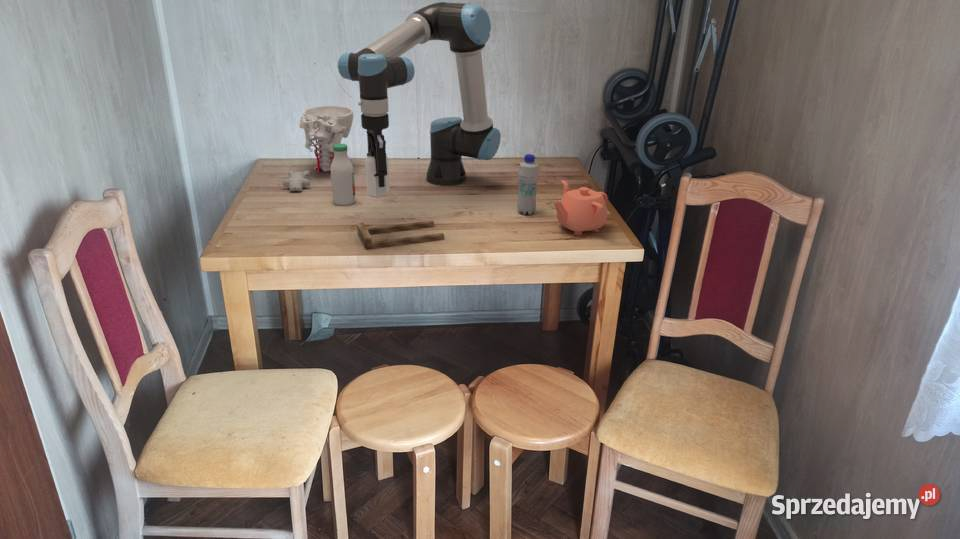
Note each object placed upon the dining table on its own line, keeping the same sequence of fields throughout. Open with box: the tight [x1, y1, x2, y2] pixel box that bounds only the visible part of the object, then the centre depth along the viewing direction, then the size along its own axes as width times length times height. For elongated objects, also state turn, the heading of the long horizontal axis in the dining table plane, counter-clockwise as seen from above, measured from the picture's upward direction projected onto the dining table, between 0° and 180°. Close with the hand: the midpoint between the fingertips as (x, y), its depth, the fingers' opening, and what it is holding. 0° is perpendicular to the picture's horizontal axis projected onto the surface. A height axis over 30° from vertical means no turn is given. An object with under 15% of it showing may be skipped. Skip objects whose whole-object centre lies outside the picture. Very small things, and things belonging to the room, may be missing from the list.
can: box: [364, 152, 391, 198], centre depth 184 cm, size 6×6×12 cm
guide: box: [356, 220, 445, 250], centre depth 194 cm, size 24×12×4 cm, turn 111°
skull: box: [299, 105, 354, 174], centre depth 245 cm, size 25×19×23 cm
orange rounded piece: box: [553, 179, 608, 237], centre depth 202 cm, size 16×17×14 cm
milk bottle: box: [330, 143, 356, 206], centre depth 217 cm, size 8×8×20 cm
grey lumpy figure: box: [282, 169, 311, 192], centre depth 234 cm, size 10×5×15 cm
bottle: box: [516, 153, 540, 216], centre depth 211 cm, size 7×7×20 cm
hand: (378, 192), depth 187 cm, fingers closed on can, 6 cm apart
